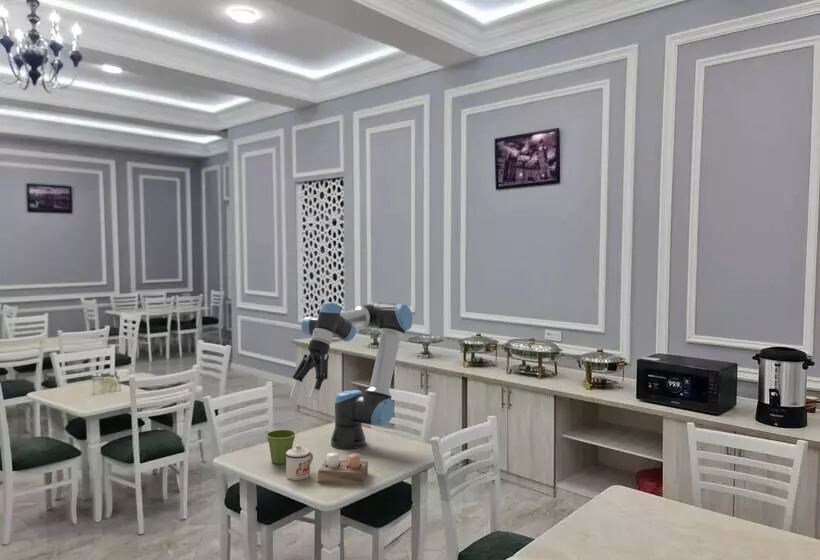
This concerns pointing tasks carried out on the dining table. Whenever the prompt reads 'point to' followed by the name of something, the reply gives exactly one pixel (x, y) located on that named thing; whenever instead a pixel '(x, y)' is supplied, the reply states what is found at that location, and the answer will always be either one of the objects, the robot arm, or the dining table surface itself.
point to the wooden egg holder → (343, 473)
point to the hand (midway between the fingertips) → (302, 398)
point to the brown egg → (354, 461)
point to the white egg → (333, 460)
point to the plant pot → (280, 444)
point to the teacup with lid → (298, 463)
